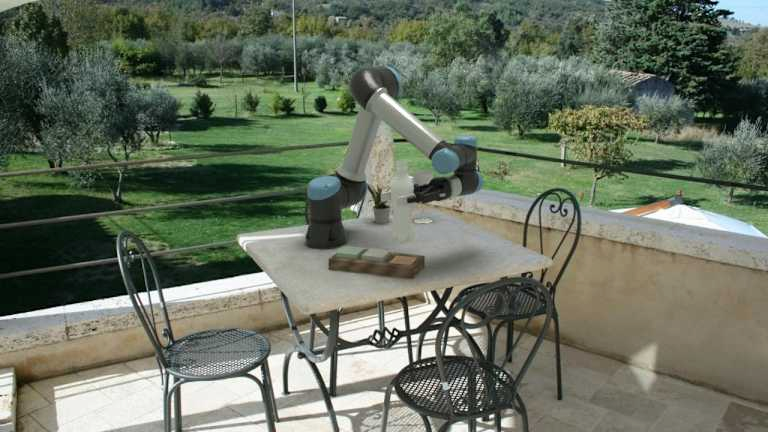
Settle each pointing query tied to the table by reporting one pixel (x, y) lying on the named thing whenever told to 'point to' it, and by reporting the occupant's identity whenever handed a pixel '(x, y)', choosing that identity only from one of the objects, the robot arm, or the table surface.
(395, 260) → the orange square block
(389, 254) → the key middle
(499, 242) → the table surface
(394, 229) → the water bottle
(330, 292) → the table surface
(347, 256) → the key sage
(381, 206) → the house plant
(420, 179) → the wineglass
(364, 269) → the keypad
